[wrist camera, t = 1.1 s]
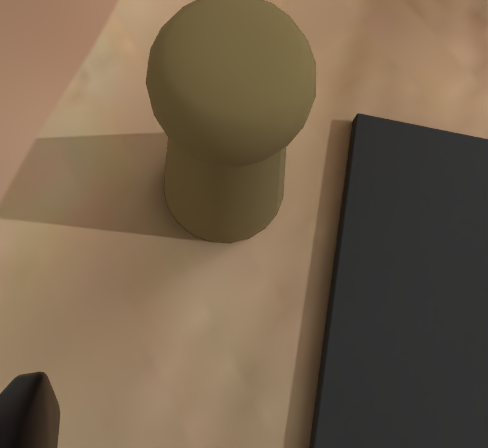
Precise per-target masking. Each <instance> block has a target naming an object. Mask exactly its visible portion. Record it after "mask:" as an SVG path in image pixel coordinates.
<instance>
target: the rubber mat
mask: <svg viewBox="0 0 488 448" xmlns="http://www.w3.org/2000/svg"><path fill="white" fill-rule="evenodd" d="M310 448H488V139H483V138H478V137H473V136H468V135H463V134H458V133H453V132H448V131H443V130H438V129H433V128H428V127H423V126H419V125H414V124H409V123H404V122H399V121H394V120H389V119H384V118H379V117H374V116H369V115H364V114H357V115H356V117H355V118H354V120H353V125H352V132H351V140H350V147H349V155H348V162H347V170H346V177H345V185H344V192H343V200H342V207H341V215H340V222H339V230H338V237H337V245H336V252H335V260H334V267H333V275H332V282H331V290H330V297H329V305H328V312H327V320H326V327H325V335H324V342H323V350H322V358H321V365H320V373H319V380H318V388H317V395H316V403H315V410H314V418H313V425H312V433H311V440H310Z"/></svg>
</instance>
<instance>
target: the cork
mask: <svg viewBox="0 0 488 448" xmlns="http://www.w3.org/2000/svg"><path fill="white" fill-rule="evenodd" d="M146 85H147V89H148V93H149V97H150V101H151V106H152V109H153V113H154V116H155V118H156V119H157V121H158V122H159V124H160V125H161V127H162V128H163V130H164V131H165V133H166V134H167V136H168V145H167V156H166V168H165V180H164V193H165V197H166V201H167V205H168V208H169V209H170V211H171V213H172V214H173V216H174V217H175V219H176V221H177V222H178V223H179V224H180V225H181V226H183V227H184V228H185V229H186V230H187V231H189V232H190V233H191V234H192V235H195V236H197V237H200V238H202V239H205V240H208V241H210V242H222V243H232V242H236V241H240V240H244V239H248V238H250V237H252V236H254V235H255V234H257V233H258V232H260V231H262V230H263V229H265V228H266V227H267V225H268V224H269V223H270V222H271V220H272V219H273V218H274V217H275V216H276V214H277V212H278V209H279V207H280V204H281V201H282V199H283V189H284V174H285V158H286V146H287V145H288V144H289V143H290V142H291V141H292V140H293V139H294V137H295V136H296V135H297V134H298V133H299V132H300V130H301V129H302V128H303V127H304V124H305V122H306V120H307V118H308V115H309V112H310V110H311V107H312V104H313V102H314V99H315V97H316V62H315V59H314V57H313V54H312V51H311V48H310V45H309V42H308V40H307V39H306V37H305V36H304V34H303V33H302V32H301V30H300V29H299V28H298V26H297V25H296V24H295V23H294V21H293V20H292V19H291V17H290V16H289V15H287V14H286V13H285V12H283V11H282V10H281V9H279V8H278V7H276V6H275V5H274V4H272V3H271V2H268V1H265V0H196V1H194V2H192V3H190V4H188V5H185V6H184V7H182V8H181V9H180V10H179V11H178V12H177V13H176V14H175V15H174V16H173V17H172V18H171V19H170V20H169V21H168V22H167V23H166V24H165V25H164V26H163V27H162V28H161V29H160V31H159V33H158V35H157V37H156V39H155V41H154V43H153V45H152V47H151V49H150V55H149V61H148V69H147V77H146Z"/></svg>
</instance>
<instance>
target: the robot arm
mask: <svg viewBox="0 0 488 448" xmlns="http://www.w3.org/2000/svg"><path fill="white" fill-rule="evenodd" d="M59 423H60V409H59V404H58V401H57V399H56V396H55V394H54V391H53V389H52V386H51V384H50V381H49V379H48V376H47V375H46V374H45V373H44V372H35V373H28V374H22V375H19V376H17V377H16V378H14V379H13V380H12V382H11V383H10V384H9V385H8V386H7V387H6V388H5V389H4V390H3V392H2V393H1V394H0V448H57V445H58V434H59Z"/></svg>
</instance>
